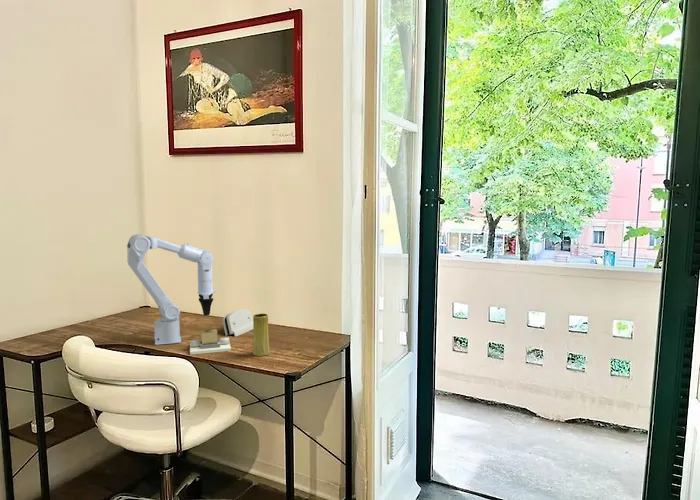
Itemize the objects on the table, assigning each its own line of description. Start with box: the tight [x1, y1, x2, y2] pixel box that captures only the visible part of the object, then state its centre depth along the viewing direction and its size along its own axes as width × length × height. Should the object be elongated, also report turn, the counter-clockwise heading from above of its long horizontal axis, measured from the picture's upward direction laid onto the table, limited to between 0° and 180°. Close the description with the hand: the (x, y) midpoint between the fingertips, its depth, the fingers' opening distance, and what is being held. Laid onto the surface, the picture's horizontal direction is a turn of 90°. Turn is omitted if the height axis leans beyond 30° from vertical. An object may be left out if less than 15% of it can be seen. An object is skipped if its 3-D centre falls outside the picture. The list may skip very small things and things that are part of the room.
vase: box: [252, 313, 271, 357], centre depth 179 cm, size 6×6×14 cm
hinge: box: [221, 308, 253, 337], centre depth 211 cm, size 17×5×10 cm, turn 157°
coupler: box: [201, 328, 219, 345], centre depth 186 cm, size 6×4×6 cm
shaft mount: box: [189, 336, 232, 356], centre depth 187 cm, size 14×12×3 cm
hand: (206, 313), depth 202 cm, fingers open, 7 cm apart
